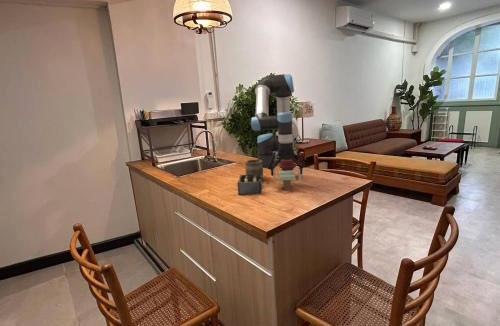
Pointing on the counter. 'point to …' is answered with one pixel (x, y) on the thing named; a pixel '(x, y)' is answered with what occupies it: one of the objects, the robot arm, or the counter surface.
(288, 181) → the block
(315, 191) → the counter surface
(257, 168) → the mug
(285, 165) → the mechanical component
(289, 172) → the board
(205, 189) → the counter surface
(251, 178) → the frame
